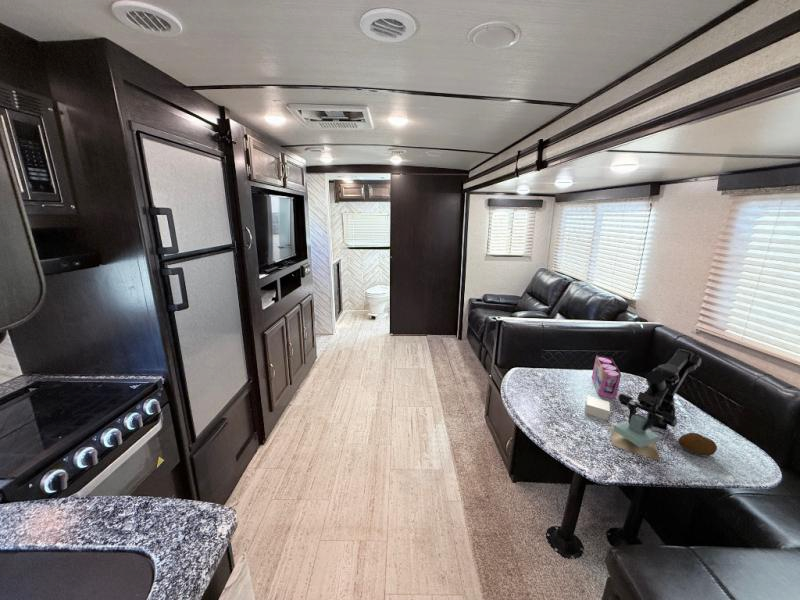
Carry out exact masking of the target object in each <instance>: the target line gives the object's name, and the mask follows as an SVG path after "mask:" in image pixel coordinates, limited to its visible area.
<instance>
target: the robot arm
mask: <svg viewBox="0 0 800 600" xmlns="http://www.w3.org/2000/svg"><path fill="white" fill-rule="evenodd" d="M702 360H703V359H702V358H701V357H700V355H697V354H695V353H693V352H692V351H689V350H686V349H682V348H678V349H677V350H676V351H675V353H674V354H673V356H672V357H671V359H669V361H667V363H663V364H659V365H658V366H657V367H654V368H653V369H652V370H650V371H648V372H647V373H646V374H645V380H646V383H647V386H648V387H647V389H645V390H646V391H644V392H642V391H639V393H638V396H637V398H636V399H637V401H635V400H634V399H633V397H632V396H630V395H627V394H625V393H619V395H618V397H617V398H618V400H619V403H620V405H621V404H622V405H623V406H626V407H627V408H628V411H629V412H628V413H629V415H628V421H629V424H630V420H631V416H632V415H635V414H637V412H638V411H637V409H639V410H641V411H644V412H646V413H647V415H646V418H647V419H649V421H648V422H647V424H646V425H645V426H644V428H643V431H646V430H647V429H648V430H650V429H651V428H652V427H654V428H657V429H661V430H663V431H668V426H670V427H672V428H675V427H676V426H677V423H678V420H677V417H676V412H677V411H676V406H675V398H674V397H675V395H676V393H677V392H678V390H679V388H680V386H681V385H682V383H683V382H684V380H685V378H686V377H687V375H688V374H689V373H691V372H694V371H696V369H697V368H698V367H700V366H701V364H702Z"/></svg>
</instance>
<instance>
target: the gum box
mask: <svg viewBox="0 0 800 600" xmlns="http://www.w3.org/2000/svg"><path fill="white" fill-rule="evenodd" d="M621 377H622V373H621V371H620V370H619V368H618V367H617V365H616V363H615V361H614V359H613V358H612V357H609V356H604V355H603V356H602V355H596V356H595V360H594V365H593V369H592V374H591V378H592V381H593V384H594V387H595V388H596V389H595V390H596V392H597V394H598V396H601V397H605V398H609V399H614V400H616V399H617V395H618V390H619V386H620V383H621Z"/></svg>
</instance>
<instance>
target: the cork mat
mask: <svg viewBox="0 0 800 600" xmlns="http://www.w3.org/2000/svg"><path fill="white" fill-rule="evenodd" d="M614 426H615V425H614V424H611V425H610V436H611V446H613V447H616V448H619V449H621V450H625V451H627V450H628V451H627V452H630V451H631V452H630V453H634V454H637V455H639V454H640V456H642V455H643V456H642V457H645V456H646V457H645V458H648V457H650V458H649V459H651V458H652V459H651V460H654V459H655V461H657V460H658V461H657V462H661V459H660V455H659V451H658V447H657V442H656V443H653V444H650V445H647V446H644V447H641V448H640V447H638V446H637V445H635V444H634V443H632V442H631V441H629V440H628V439H626V438H624V437H623V436H621V435H620V434H618V433H617V432H615V431H614Z"/></svg>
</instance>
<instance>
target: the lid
mask: <svg viewBox="0 0 800 600" xmlns="http://www.w3.org/2000/svg"><path fill="white" fill-rule="evenodd" d="M648 421H649V419H647V417H645V416H643V415H641V414H640V413H636V414H635V415H632V416H631V420H630V424H629V420H628V421H623V422H621V423H617V424H614V425H613V426H614V431H615V432H617V433H618V434H620V435H621V436H623V437H624V438H626V439H628V440H629V441H631V442H632V443H634V444H635V445H637V446H638V447H640V448H641V447H644V446H647V445H650V444H653V443H656V444H657V443H659V441H660V438H661V436H660V435H659V434H657V433H655V432H653V431H651V430H650V429H647V430H646V431H643V428H644V426H645V425H646V424H647V422H648Z"/></svg>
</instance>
